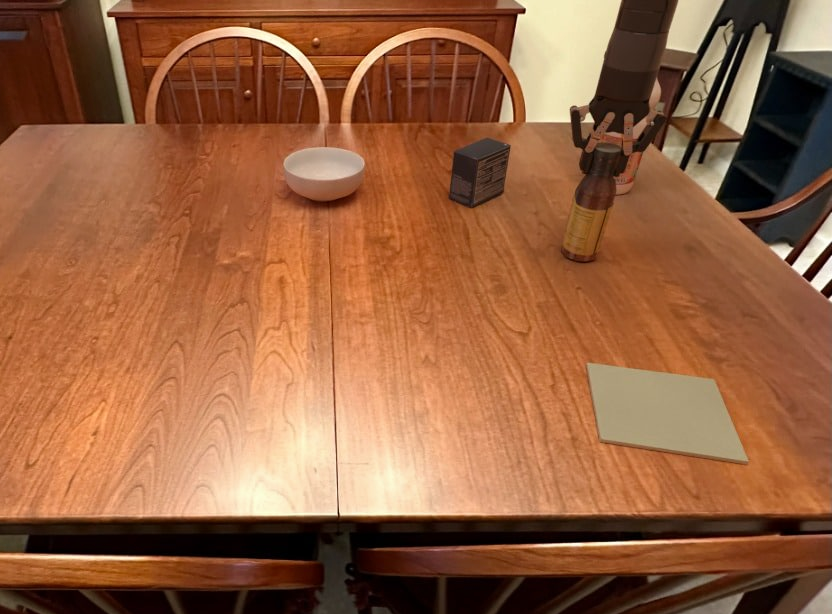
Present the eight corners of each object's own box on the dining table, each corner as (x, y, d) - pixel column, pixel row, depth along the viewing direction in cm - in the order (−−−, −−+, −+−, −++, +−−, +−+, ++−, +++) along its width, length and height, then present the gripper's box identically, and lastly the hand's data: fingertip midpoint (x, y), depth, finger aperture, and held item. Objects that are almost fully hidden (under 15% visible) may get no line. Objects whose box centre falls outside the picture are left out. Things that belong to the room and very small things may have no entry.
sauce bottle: (580, 242, 109) (612, 135, 97) (605, 259, 105) (641, 150, 93) (550, 249, 107) (579, 141, 95) (574, 267, 103) (607, 156, 91)
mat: (712, 382, 80) (714, 378, 80) (747, 464, 69) (749, 461, 69) (585, 365, 83) (586, 362, 83) (599, 442, 72) (600, 438, 72)
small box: (479, 183, 130) (486, 135, 123) (504, 193, 126) (513, 144, 119) (446, 198, 124) (452, 149, 118) (471, 209, 120) (479, 159, 114)
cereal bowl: (359, 214, 119) (360, 181, 115) (277, 209, 121) (275, 176, 117) (367, 178, 132) (368, 147, 128) (293, 174, 135) (292, 143, 130)
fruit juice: (574, 179, 131) (610, 40, 114) (613, 174, 132) (654, 37, 115) (600, 198, 123) (642, 53, 106) (641, 192, 125) (688, 49, 108)
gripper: (582, 66, 85) (555, 179, 95) (692, 71, 82) (652, 187, 93) (576, 53, 91) (551, 161, 101) (679, 57, 88) (643, 167, 99)
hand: (600, 173), depth 97 cm, fingers closed on sauce bottle, 4 cm apart
